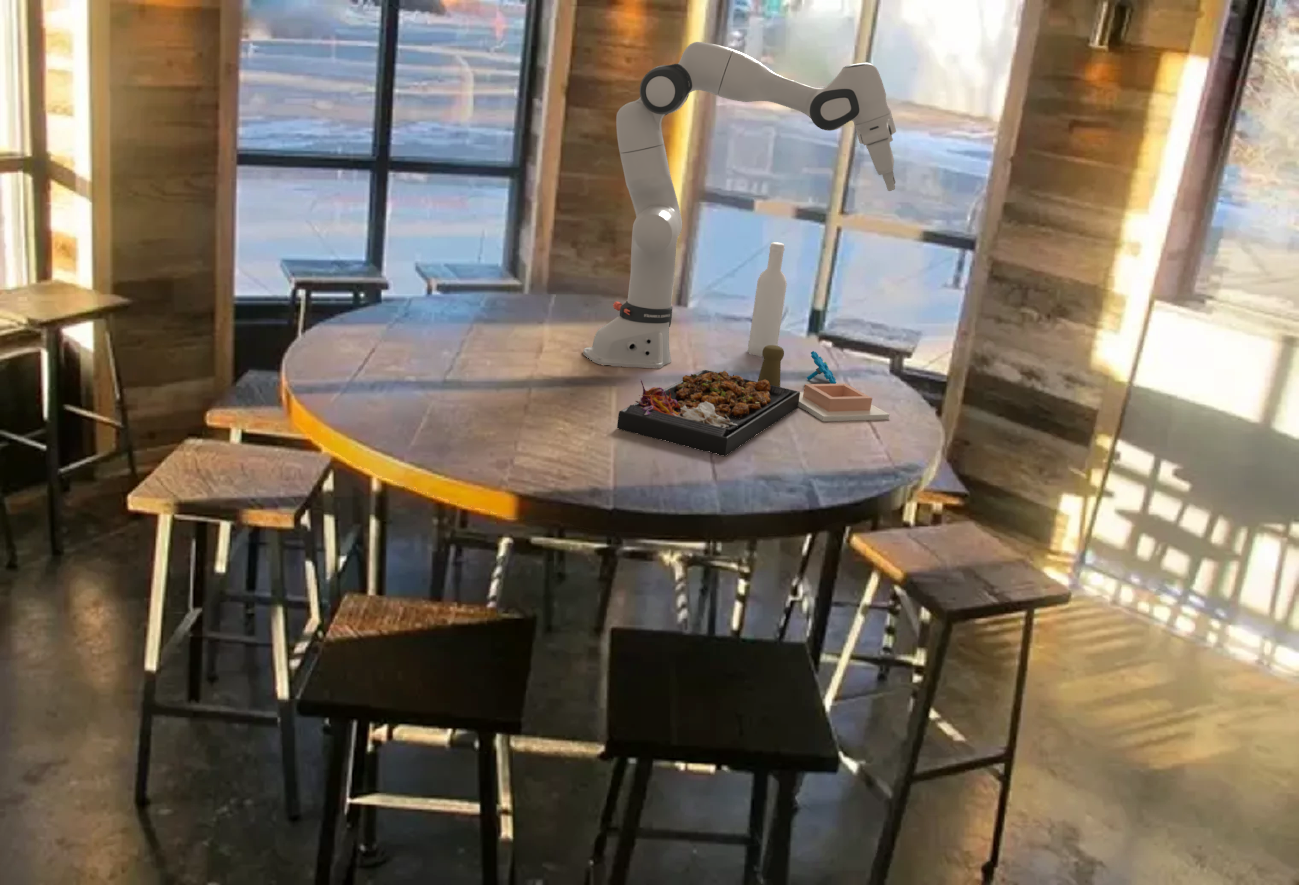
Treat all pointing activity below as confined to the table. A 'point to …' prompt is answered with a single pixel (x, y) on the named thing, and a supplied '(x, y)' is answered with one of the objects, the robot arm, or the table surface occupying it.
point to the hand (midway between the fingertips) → (892, 187)
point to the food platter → (708, 411)
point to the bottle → (768, 303)
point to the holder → (838, 403)
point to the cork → (771, 364)
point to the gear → (821, 369)
